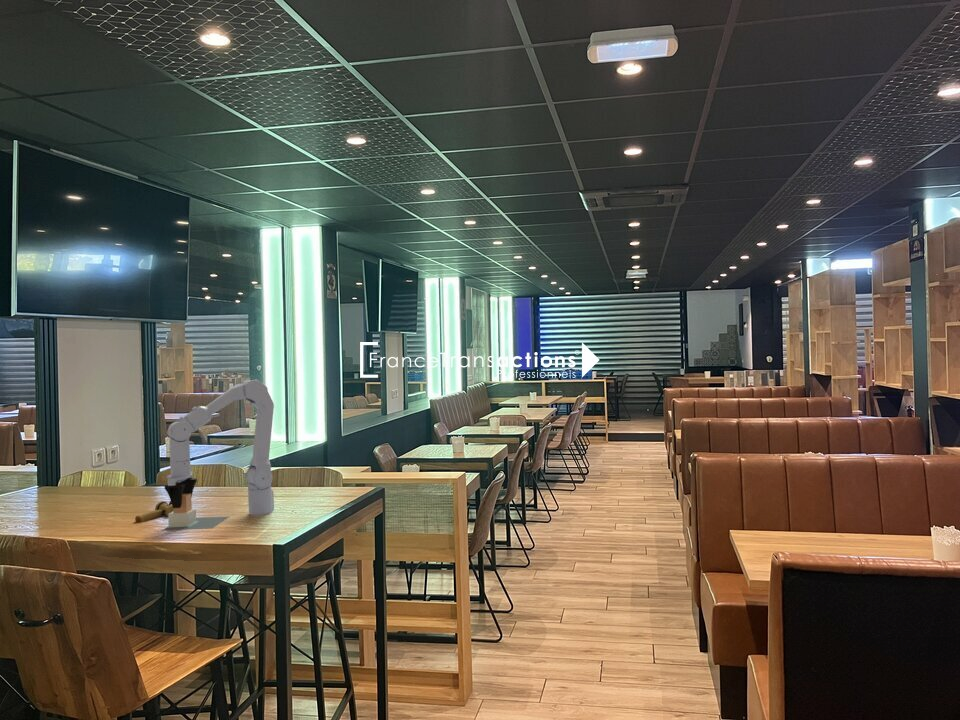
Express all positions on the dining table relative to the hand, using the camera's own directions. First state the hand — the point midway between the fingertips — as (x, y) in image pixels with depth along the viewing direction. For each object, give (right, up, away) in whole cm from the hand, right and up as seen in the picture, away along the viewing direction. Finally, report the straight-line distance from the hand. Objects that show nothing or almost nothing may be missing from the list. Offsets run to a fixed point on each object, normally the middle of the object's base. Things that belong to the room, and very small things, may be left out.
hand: (181, 505), depth 222 cm
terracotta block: (0, -2, 0) cm, 2 cm away
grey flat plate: (+4, -7, +1) cm, 8 cm away
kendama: (-12, -8, +14) cm, 20 cm away
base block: (0, -6, 0) cm, 6 cm away
